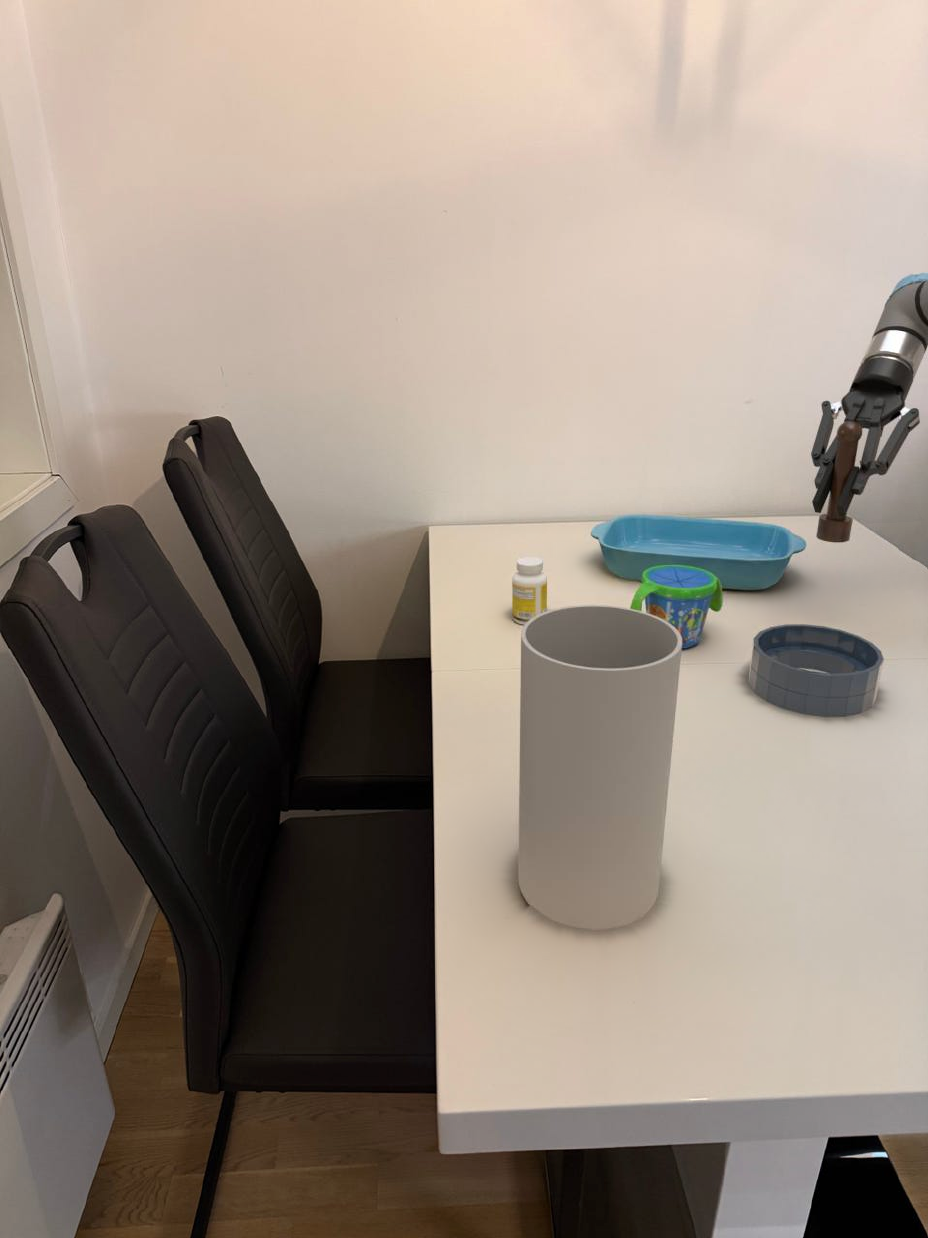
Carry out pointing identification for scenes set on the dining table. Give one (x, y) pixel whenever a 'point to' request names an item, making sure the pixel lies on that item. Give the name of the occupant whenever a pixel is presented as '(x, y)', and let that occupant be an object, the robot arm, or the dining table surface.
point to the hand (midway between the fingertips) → (828, 509)
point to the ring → (821, 649)
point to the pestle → (840, 485)
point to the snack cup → (680, 598)
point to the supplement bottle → (528, 590)
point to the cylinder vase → (595, 761)
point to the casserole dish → (698, 548)
